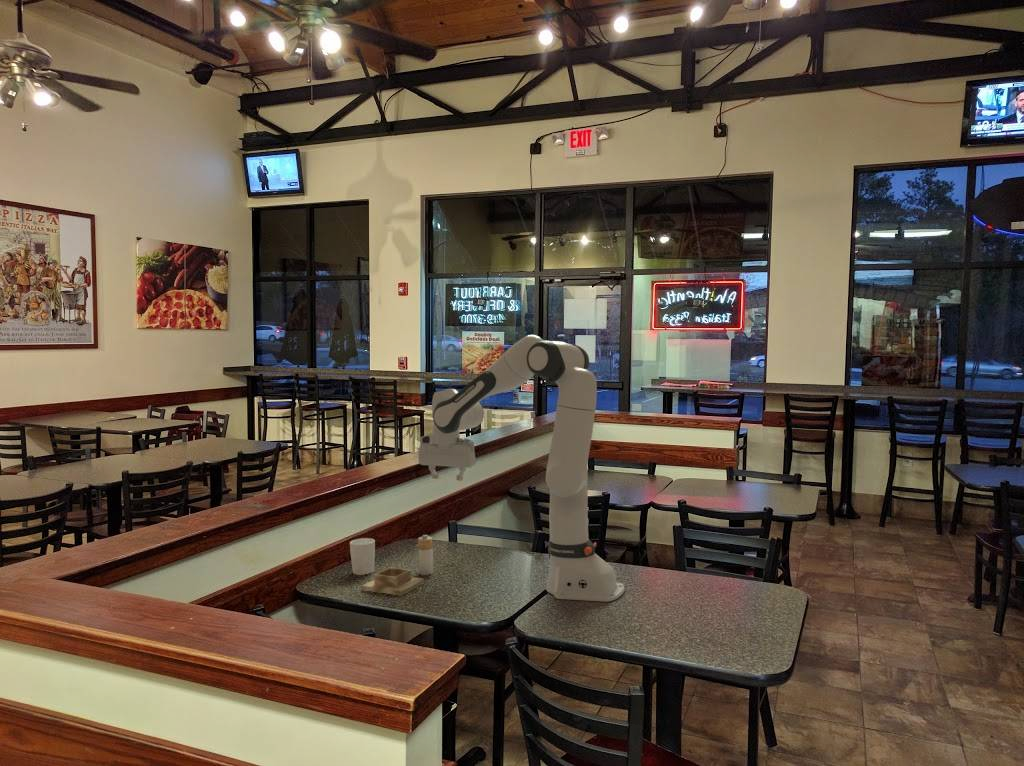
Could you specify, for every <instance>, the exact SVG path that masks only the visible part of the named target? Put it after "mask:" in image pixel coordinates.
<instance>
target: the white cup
mask: <svg viewBox="0 0 1024 766" xmlns="http://www.w3.org/2000/svg"><path fill="white" fill-rule="evenodd" d="M375 542H376V540H375V539H373V538H369V537H365V538H364V537H361V538H356V539H352V540H351V541H349V549H350V558H351V559H350V560H351V566H352V567H351V568H352V570H351V571H352V573H353V575H355V574H356V576H365V574H367V575H370V574H369V573H371V574H373V573H374V572H375V560H376V559H375V557H376V552H375V551H376V543H375ZM372 572H373V573H372Z"/></svg>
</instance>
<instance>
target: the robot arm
mask: <svg viewBox="0 0 1024 766" xmlns="http://www.w3.org/2000/svg"><path fill="white" fill-rule="evenodd" d="M589 367H590V357H589V354H588V353H587V351H586V350H585V349H584V348H582V347H581V346H579V345H576V344H573V343H571V344H570V343H567V342H565V341H561V340H545V339H543V338H541V336H538V335H536V334H528V335H526V336H523V337H522V338H521V339H519V340H518V341H516V342H514V343H513V345H511V346H510V347H509V348H508V349H507V350H506V351H504V353H502V354H501V356H499V358H498V359H496V360H495V361H493V363H492V364H491V365H490V366H489V367H487V368H486V369H485V370H484V371H482V372H481V373H480V374H479V375H478V376H477V377H475V378H474V379H473V380H471V381H470V382H469V383H467V384H466V385H465V386H464V387H463V388H462V389H461V390H459V391H458V390H457V389H456V388H446V389H439V390H436V391H435V392H434V393H433V395H432V400H431V401H432V402H431V417H432V421H433V425H432V433H429V434H425V435H423V436H420V437H419V443H420V445H419V448H418V462H419V464H420V465H421V466H428V470H429V472H430V474H431V479H432V480H438V479H439V475H440V474H439V472H437V471H436V467H454V468H458V470H459V473H458V474H456V481H458V482H459V481H460V482H461V481H463V480H464V474H465V472H466V470H467V468H468V469H469V468H472V467H475V465H476V463H477V462H476V461H477V460H476V452H475V443H474V441H473V440H472V439H470V438H462V437H460V436H461V435H460V431H465V430H469V429H470V430H471V429H474V428H477V427H479V426H480V425H481V424H482V423H483V421H484V417H485V410H484V408H483V405H482V404H481V401H482V400H484V399H485V398H489V397H490V396H493V395H497V394H502V393H507V392H511V391H514V390H516V389H518V388H520V387H521V386H523V385H524V384H526V383H527V382H528V381H529V380H530V379H531V378H532V377H533V376H534V375H535V376H536V377H539V378H542V379H543V380H544V381H547V382H548V383H551V384H552V383H556V385H557V386H558V387H557V388H558V396H557V405H556V411H555V417H554V418H555V419H554V424H553V430H552V431H553V433H552V437H551V441H550V442H551V443H550V448H549V453H548V460H547V464H546V469H545V470H546V472H545V481H546V486H547V487H548V489H549V511H548V512H549V513H548V516H549V519H548V520H549V521H548V522H549V540H548V550H547V551H548V559H549V569H548V570H549V571H548V577H547V581H546V582H547V583H546V586H545V590H546V591H547V593H549V594H551V595H553V597H554V598H555V599H557V600H568V601H569V600H573V601H588V602H590V601H591V602H612V601H615V600H617V599H619V598H620V597H621V596H622V595H623V594H624V593H625V590H626V588H625V585H624V584H623V583H621V582H617V576H616V571H615V569H614V567H613V566H612V565H610V564H609V563H608V562H606V561H605V560H604V559H603V558H601V557H600V556H599V555H598V554H597V553H596V547H597V542H596V541H595V542H594V543H593V542H592V541H591V540H590V538H589V521H588V520H589V519H588V515H589V514H588V509H589V507H588V506H589V505H588V504H589V502H588V500H589V498H588V497H589V496H588V493H589V492H588V490H589V489H588V487H589V485H588V484H589V483H588V481H589V479H588V462H589V455H590V449H591V445H592V439H593V437H592V436H593V432H594V431H593V430H594V425H595V416H596V409H597V401H598V400H597V397H598V396H597V395H598V392H597V391H598V388H597V387H598V386H597V377H596V376H595V374H594V373H593V372H592V371H590V370H589Z"/></svg>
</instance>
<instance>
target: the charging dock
mask: <svg viewBox="0 0 1024 766" xmlns="http://www.w3.org/2000/svg"><path fill="white" fill-rule="evenodd" d="M422 584H423V585H424V584H425V579H424V578H422V577H421V578H420V577H412V569H409V568H408V569H406V568H398V567H387V568H385V569H383V570H382V571H379V572H377V573H374V575H373V579H372V580H371V581H368V582H366V583H365V584H362V585H361V591H362V590H364V591H363V592H367V591H373V592H372V593H374V591H375V592H380V593H379V594H381V593H387V594H393V595H392V596H394V595H398V596H397V597H403V596H405V595H407V594H408V593H410V592H412V591H414V590H416V589H417V588H419V587H421V586H423V585H422ZM420 585H421V586H420ZM415 588H416V589H415ZM413 589H414V590H413ZM411 590H412V591H411ZM409 591H410V592H409ZM406 593H407V594H406ZM387 594H386V595H387ZM404 594H405V595H404ZM402 595H403V596H402Z"/></svg>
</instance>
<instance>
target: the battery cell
mask: <svg viewBox="0 0 1024 766" xmlns="http://www.w3.org/2000/svg"><path fill="white" fill-rule="evenodd" d="M417 545H418V546H417V549H418V566H419V567H418V569H419V570H418V573H420V574H421V575H420V574H419V575H420V576H429V575H428V574H431V575H433V574H434V555H433V553H434V552H433V548H434V547H433V536H429V535H428V534H422V536H420V537H418V538H417ZM432 573H433V574H432Z"/></svg>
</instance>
